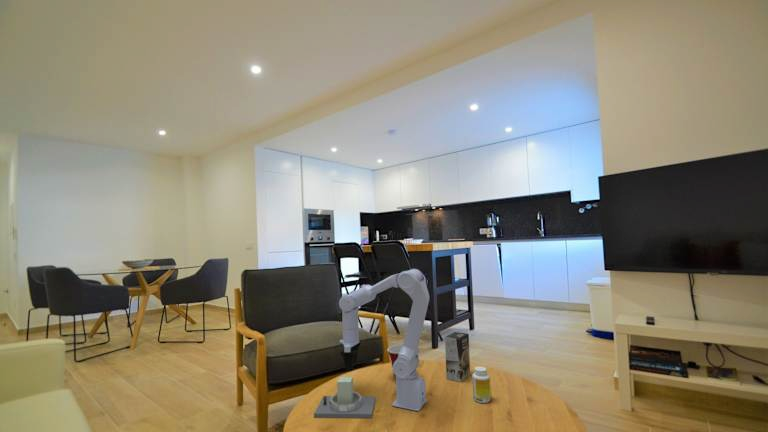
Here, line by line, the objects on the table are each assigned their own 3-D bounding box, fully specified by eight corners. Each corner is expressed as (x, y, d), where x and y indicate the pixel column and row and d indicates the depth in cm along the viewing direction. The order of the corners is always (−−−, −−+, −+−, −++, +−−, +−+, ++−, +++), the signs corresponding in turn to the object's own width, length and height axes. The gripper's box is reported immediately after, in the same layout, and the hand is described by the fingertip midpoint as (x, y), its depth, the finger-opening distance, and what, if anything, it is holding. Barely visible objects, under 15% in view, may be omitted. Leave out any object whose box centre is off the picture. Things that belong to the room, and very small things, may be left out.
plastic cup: (390, 372, 142) (389, 342, 143) (416, 373, 140) (415, 343, 141) (385, 383, 132) (384, 351, 132) (413, 385, 129) (412, 352, 130)
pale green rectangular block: (339, 401, 116) (339, 376, 116) (353, 401, 115) (353, 376, 116) (336, 407, 111) (336, 382, 112) (351, 407, 111) (350, 382, 111)
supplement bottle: (494, 401, 115) (492, 370, 115) (479, 405, 113) (478, 372, 113) (483, 394, 120) (482, 364, 120) (470, 397, 118) (468, 367, 119)
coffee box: (461, 382, 130) (459, 338, 131) (445, 378, 134) (444, 336, 135) (471, 374, 138) (469, 333, 139) (456, 371, 141) (454, 331, 142)
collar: (363, 397, 118) (363, 389, 118) (359, 412, 108) (359, 404, 108) (327, 397, 119) (327, 389, 119) (319, 412, 109) (319, 403, 109)
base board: (375, 399, 118) (375, 396, 118) (371, 418, 106) (371, 414, 106) (323, 399, 120) (323, 395, 120) (313, 417, 108) (313, 413, 108)
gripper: (343, 323, 133) (344, 359, 132) (335, 333, 118) (336, 374, 117) (361, 322, 132) (362, 359, 131) (355, 333, 118) (356, 374, 117)
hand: (351, 366), depth 124 cm, fingers open, 7 cm apart
